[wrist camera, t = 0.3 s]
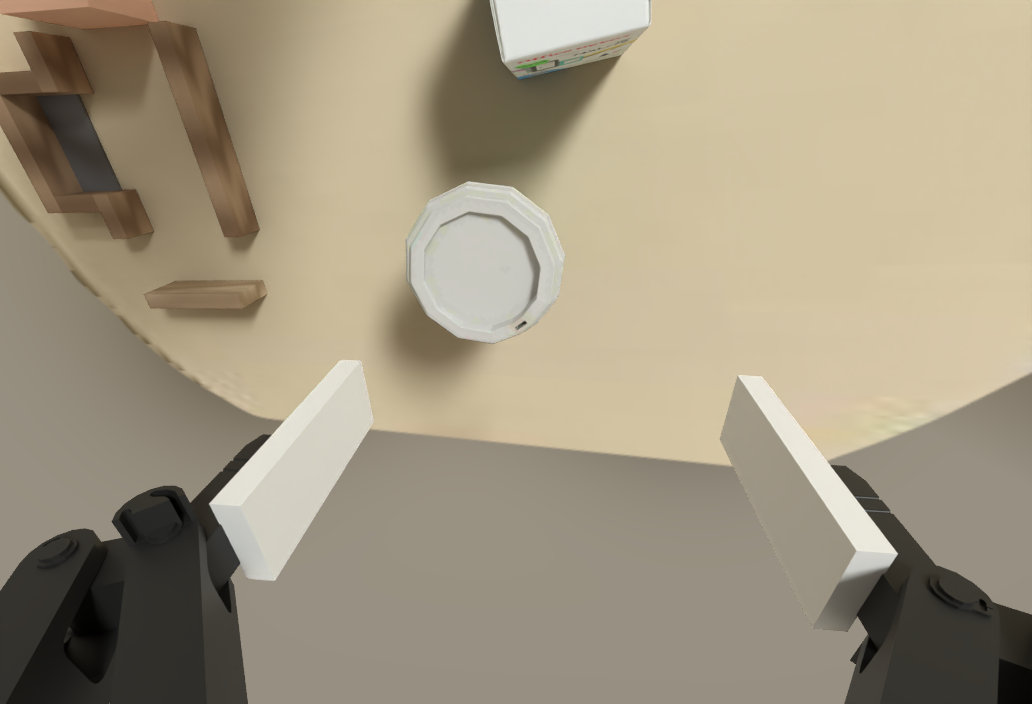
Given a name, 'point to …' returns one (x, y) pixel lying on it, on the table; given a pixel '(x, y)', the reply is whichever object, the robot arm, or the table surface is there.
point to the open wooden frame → (85, 167)
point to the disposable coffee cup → (484, 262)
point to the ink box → (565, 32)
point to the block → (83, 12)
